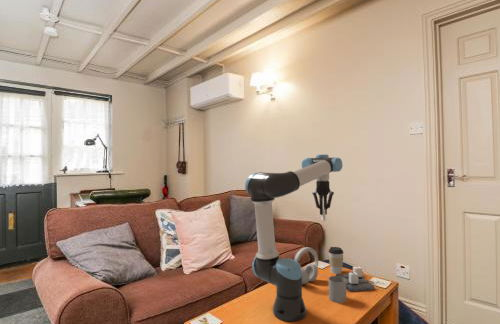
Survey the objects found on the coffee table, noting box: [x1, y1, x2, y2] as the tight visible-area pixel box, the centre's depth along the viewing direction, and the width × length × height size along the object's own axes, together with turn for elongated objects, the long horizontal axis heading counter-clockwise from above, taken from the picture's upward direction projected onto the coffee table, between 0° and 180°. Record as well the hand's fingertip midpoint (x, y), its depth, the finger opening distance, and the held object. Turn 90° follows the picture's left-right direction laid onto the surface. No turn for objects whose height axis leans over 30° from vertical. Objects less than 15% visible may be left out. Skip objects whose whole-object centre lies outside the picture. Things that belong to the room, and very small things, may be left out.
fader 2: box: [348, 271, 358, 284], centre depth 159 cm, size 4×3×5 cm
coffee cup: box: [328, 246, 344, 275], centre depth 181 cm, size 9×9×15 cm
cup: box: [328, 275, 347, 304], centre depth 146 cm, size 8×8×10 cm
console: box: [335, 273, 375, 292], centre depth 164 cm, size 14×18×3 cm
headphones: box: [293, 246, 319, 285], centre depth 166 cm, size 19×8×20 cm, turn 126°
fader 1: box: [352, 266, 363, 277], centre depth 168 cm, size 4×3×5 cm
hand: (323, 220), depth 172 cm, fingers closed
